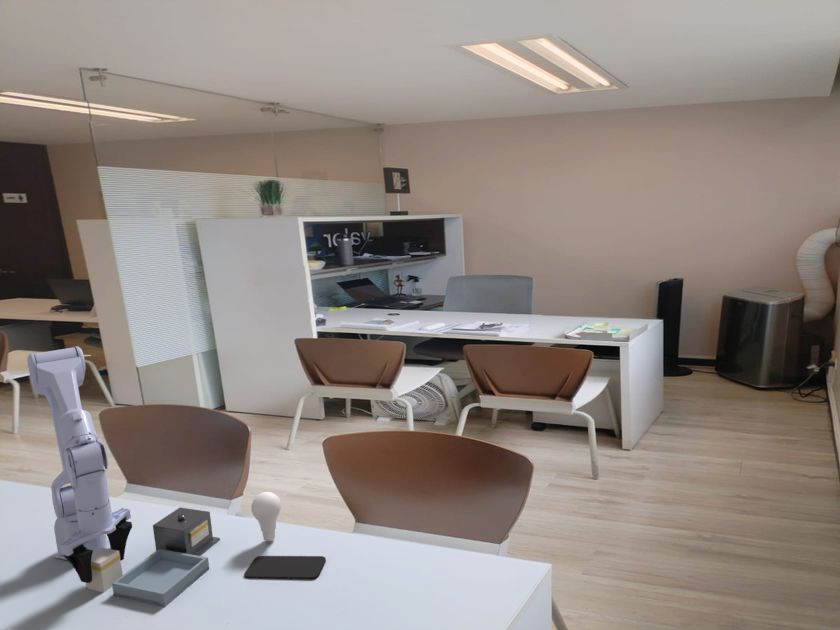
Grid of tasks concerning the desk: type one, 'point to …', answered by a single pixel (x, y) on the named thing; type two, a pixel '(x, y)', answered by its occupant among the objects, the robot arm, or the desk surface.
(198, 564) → the tray
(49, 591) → the desk surface
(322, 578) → the desk surface
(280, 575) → the phone
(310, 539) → the desk surface
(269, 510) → the lightbulb
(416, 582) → the desk surface
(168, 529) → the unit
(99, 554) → the part block
